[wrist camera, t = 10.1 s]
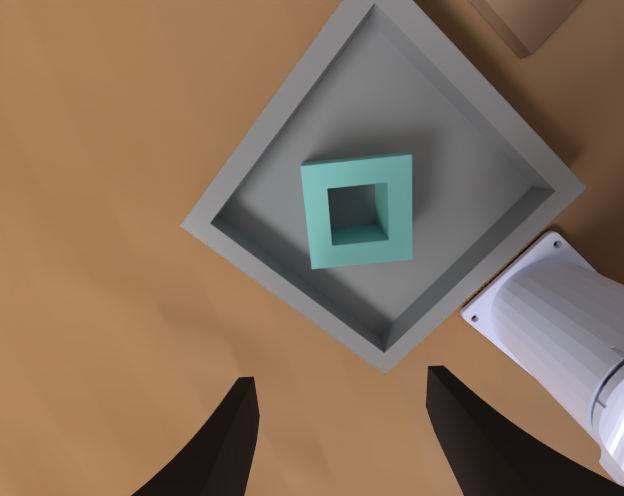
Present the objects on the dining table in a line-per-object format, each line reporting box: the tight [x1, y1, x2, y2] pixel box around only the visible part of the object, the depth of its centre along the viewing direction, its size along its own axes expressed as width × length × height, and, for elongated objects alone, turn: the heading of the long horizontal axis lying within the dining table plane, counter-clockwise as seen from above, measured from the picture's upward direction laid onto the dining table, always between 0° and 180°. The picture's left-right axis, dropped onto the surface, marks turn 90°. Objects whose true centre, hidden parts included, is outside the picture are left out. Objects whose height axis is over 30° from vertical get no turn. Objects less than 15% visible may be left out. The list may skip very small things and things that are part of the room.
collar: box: [300, 153, 412, 269], centre depth 18 cm, size 5×5×4 cm
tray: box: [181, 0, 587, 374], centre depth 19 cm, size 16×16×2 cm
